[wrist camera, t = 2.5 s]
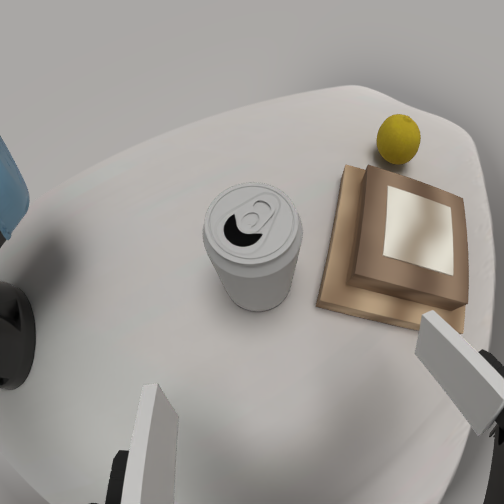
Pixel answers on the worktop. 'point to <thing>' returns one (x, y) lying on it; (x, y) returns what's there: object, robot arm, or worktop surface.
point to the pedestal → (396, 251)
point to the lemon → (398, 139)
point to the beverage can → (253, 243)
